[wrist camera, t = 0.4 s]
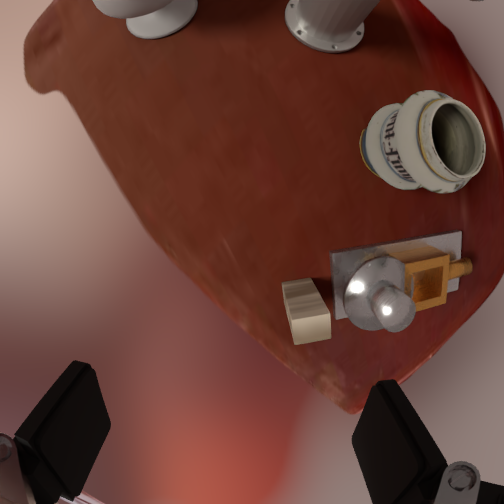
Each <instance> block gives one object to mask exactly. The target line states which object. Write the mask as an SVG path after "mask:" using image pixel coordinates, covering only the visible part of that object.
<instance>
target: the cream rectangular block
mask: <svg viewBox="0 0 504 504" xmlns="http://www.w3.org/2000/svg"><path fill="white" fill-rule="evenodd" d="M282 289H283V296H284V304H285V308H286V312H287V316H288V320H289V324H290V328H291V332H292V336H293V340H294V344H295V345H297V344H303V343H309V342H314V341H320V340H325V339H330V338H331V322H330V312H329V310H328V309H327V307H326V305H325V303H324V301H323V299H322V297H321V296H320V294H319V292H318V290H317V288H316V286H315V285H314V283H313V281H312V279H311V278H306V279H300V280H294V281H287V282H282Z"/></svg>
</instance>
